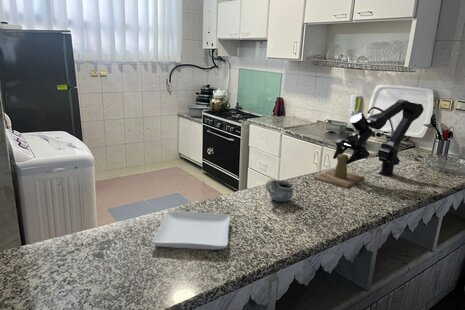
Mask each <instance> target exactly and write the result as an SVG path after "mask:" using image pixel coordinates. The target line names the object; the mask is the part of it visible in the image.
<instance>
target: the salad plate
mask: <svg viewBox="0 0 465 310" xmlns="http://www.w3.org/2000/svg"><path fill="white" fill-rule="evenodd" d="M230 222H231V215H230V214H223V213H212V212H210V213H209V212H196V211H195V212H193V211H192V212H191V211H167V212H166V214H165V216H164V217H163V219H162V222H161V223H160V225H159V228H158V229H157V231H156V233H155V234H154V237H153V238H152V241H151V242H152V244H154V245H155V246H158V247H161V248H162V247H163V248H175V249H176V248H177V249H191V250H192V249H194V250H222V249H225V248H227V247H228V245H229V229H230V228H229V227H230Z"/></svg>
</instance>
